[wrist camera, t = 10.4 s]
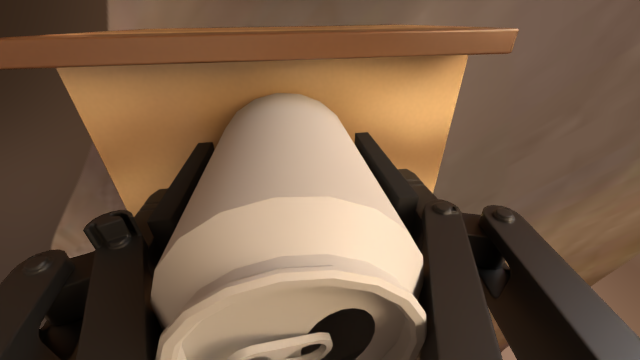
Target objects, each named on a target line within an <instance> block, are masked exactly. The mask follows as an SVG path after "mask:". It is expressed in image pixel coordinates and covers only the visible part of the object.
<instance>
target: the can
mask: <svg viewBox="0 0 640 360" xmlns="http://www.w3.org/2000/svg"><path fill="white" fill-rule="evenodd" d="M423 282H424V270H423V255H422V254H421V252H420V250H419V249H418V247H417V245H416V244H415V242H414V240H413V239H412V237H411V235H410V234H409V232H408V230H407V229H406V227H405V225H404V224H403V222H402V220H401V219H400V217H399V216H398V214H397V212H396V211H395V209H394V207H393V206H392V204H391V203H390V201H389V199H388V198H387V196H386V195H385V193H384V191H383V190H382V188H381V186H380V185H379V183H378V182H377V180H376V178H375V177H374V175H373V173H372V172H371V170H370V169H369V167H368V165H367V164H366V162H365V160H364V159H363V157H362V156H361V154H360V152H359V151H358V149H357V148H356V146H355V144H354V143H353V141H352V139H351V138H350V136H349V135H348V133H347V131H346V130H345V128H344V126H343V125H342V123H341V122H340V120H339V118H338V117H337V115H336V114H335V113H333V112H332V111H331V110H330V109H329V108H327V107H326V106H325V105H324V104H322V103H321V102H320V101H317V100H314V99H312V98H309V97H307V96H304V95H301V94H291V93H275V94H271V95H268V96H264V97H261V98H257V99H254V100H253V101H252V102H250V103H249V104H247V105H246V106H244V107H243V108H242V109H240V110H239V111H237V112H236V114H235V115H234V117H233V118H232V120H231V121H230V123H229V124H228V125H227V127H226V128H225V130H224V132H223V134H222V136H221V138H220V140H219V142H218V144H217V146H216V148H215V150H214V152H213V154H212V156H211V158H210V160H209V162H208V164H207V166H206V168H205V170H204V172H203V174H202V176H201V178H200V180H199V182H198V184H197V186H196V188H195V190H194V192H193V194H192V196H191V198H190V200H189V202H188V204H187V206H186V208H185V210H184V212H183V214H182V216H181V218H180V220H179V222H178V224H177V226H176V228H175V230H174V232H173V234H172V236H171V238H170V240H169V242H168V244H167V246H166V248H165V250H164V253H163V255H162V257H161V259H160V261H159V263H158V265H157V267H156V269H155V271H154V277H153V284H152V291H151V297H150V303H151V306H152V308H153V311H154V313H155V315H156V318H157V320H158V322H159V324H160V326H161V329H162V331H163V332H162V334H161V336H160V339H159V344H158V349H157V354H156V359H155V360H415V359H416V357H417V355H418V353H419V352H420V350H421V348H422V346H423V344H424V342H425V340H426V335H427V320H426V313H425V311H424V309H423V308H422V307H421V305H420V304H419V303H418V301H417V300H418V297H419V295H420V292H421V289H422V287H423Z"/></svg>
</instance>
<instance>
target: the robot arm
mask: <svg viewBox="0 0 640 360" xmlns="http://www.w3.org/2000/svg"><path fill="white" fill-rule="evenodd" d="M355 146H356V148H357V149H358V151H359V152H360V154H361V156H362V157H363V159H364V160H365V162H366V164H367V165H368V167H369V169H370V170H371V172H372V173H373V175H374V177H375V178H376V180H377V182H378V183H379V185H380V186H381V188H382V190H383V191H384V193H385V195H386V196H387V198H388V199H389V201H390V203H391V204H392V206H393V207H394V209H395V211H396V212H397V214H398V216H399V217H400V219H401V220H402V222H403V224H404V225H405V227H406V229H407V230H408V232H409V234H410V235H411V237H412V239H413V240H414V242H415V244H416V245H417V247H418V249H419V250H420V252H421V254H422V255H423V270H424V282H423V287H422V289H421V292H420V295H419V297H418V300H417V301H418V303H419V304H420V305H421V307H422V308H423V309H424V311H425V313H426V320H427V335H426V340H425V342H424V344H423V346H422V348H421V350H420V352H419V353H418V355H417V357H416V359H415V360H503V359H502V356H501V352H500V348H499V345H498V341H497V338H496V334H495V331H494V327H493V324H492V320H491V316H490V313H489V309H490V311H491V313H492V315H493V317H494V318H495V320H496V322H497V324H498V326H499V328H500V329H501V331H502V333H503V335H504V337H505V339H506V340H507V342H508V344H509V346H510V348H511V349H512V351H513V353H514V355H515V357H516V358H517V360H640V338H639V337H638V336H637V335H636V334H635V333H634V332H633V331H632V330H631V329H630V328H629V326H628V325H627V324H626V323H625V322H624V321H623V320H622V319H621V318H620V317H619V316H618V315H617V314H616V313H615V312H614V311H613V310H612V309H611V308H610V307H609V306H608V305H607V304H606V303H605V302H604V301H603V300H602V299H601V298H600V297H599V296H598V295H597V294H596V292H595V291H594V290H593V289H591V287H590V286H589V285H588V284H587V283H586V282H585V281H584V280H583V279H582V278H581V277H580V276H579V275H578V274H577V273H576V272H575V271H574V270H573V269H572V268H571V267H570V266H569V265H568V264H567V263H566V262H565V260H564V259H563V258H562V257H561V256H560V255H559V254H558V253H557V252H556V251H555V250H554V249H553V248H552V247H551V246H550V245H549V244H548V243H547V242H546V241H545V240H544V239H543V238H542V237H541V236H540V235H539V234H538V233H537V232H536V231H535V230H534V229H533V228H532V227H531V225H530V224H529V223H528V222H527V221H526V220H525V219H524V218H523V217H522V216H521V215H519V214H518V213H517V212H515V211H513V210H511V209H509V208H507V207H503V206H496V205H491V206H487V207H485V208H484V209H483V212H482V214H481V215H476V214H467V213H461V211H460V209H459V208H458V207H457V206H455V205H454V204H452V203H450V202H448V201H444V200H438V199H437V198H436V197H435V196H434V194H433V193H432V192H431V191H430V190H429V189H428V188H427V187H426V186H425V185H424V183H423V182H422V181H421V180H420V179H419V178H418V177H417V175H416V174H415V173H413V172H411V171H410V170H408V169H397V168H396V167H395V166H394V164H393V163H392V162H391V160H390V159H389V158H388V157H387V155H386V154H385V153H384V152H383V150H382V149H381V148H380V147H379V145H378V144H377V143H376V142H375V140H374V139H373V138H372V137H371V135H370V134H369V133H368V132H363V133H355ZM214 150H215V149H214V145H213V142H204V143H198V144H197V145H196V147H195V149H194V150H193V152H192V153H191V155H190V156H189V158H188V159H187V161H186V162H185V164H184V165H183V167H182V168H181V170H180V171H179V173H178V174H177V176H176V177H175V179H174V180H173V182H172V184H171V185H170V187H169V188H166V189H159V190H157V191H156V192H154V193H153V194H152V195H150V196H149V198H148V199H147V200H146V202H145V203H144V205H143V206H142V207H141V208H140V211H138V212H137V214H136V215H135V217H133V215H132V213H131V212H129V211H127V210H117V211H112V212H109V213H106V214H103V215H101V216H99V217H97V218H95V219H93V220H92V221H91V222H89V223H88V224H87V225H86V226H85V228H84V230H83V231H84V232H85V234H86V236H87V237H88V239H89V240H90V242H91V243H92V245H93V246H94V248H95V251H93V252H90V253H87V254H84V255H80V256H77V257H73V258H69V257H68V255H67V254H66V253H65V251H62V250H49V251H46V252H42V253H39V254H36V255H35V256H32V257H30V258H28V259H27V260H25V261H24V262H22V263H21V264H19V265H18V266H17V267H16V268H14V269H13V270H12V271H11V272H10V274H9V275H8V276H7V277H6V278H5V279H4V281H3V282H2V283H1V284H0V360H155V359H156V354H157V349H158V344H159V339H160V336H161V334H162V332H163V331H162V329H161V326H160V324H159V322H158V320H157V318H156V315H155V313H154V311H153V308H152V306H151V303H150V297H151V291H152V284H153V277H154V271H155V269H156V267H157V265H158V263H159V261H160V259H161V257H162V255H163V253H164V250H165V248H166V246H167V244H168V242H169V240H170V238H171V236H172V234H173V232H174V230H175V228H176V226H177V224H178V222H179V220H180V218H181V216H182V214H183V212H184V210H185V208H186V206H187V204H188V202H189V200H190V198H191V196H192V194H193V192H194V190H195V188H196V186H197V184H198V182H199V180H200V178H201V176H202V174H203V172H204V170H205V168H206V166H207V164H208V162H209V160H210V158H211V156H212V154H213V152H214ZM505 260H506V262H507V263H508V265H509V267H508V266H507V264H506V263H505ZM488 308H489V309H488ZM44 318H45V319H46V320H47V321H46V323H45V324H44V326H43V327H42V328H41V329H39V327H40V325H41V322H42V320H43V319H44Z"/></svg>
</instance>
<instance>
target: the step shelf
mask: <svg viewBox="0 0 640 360" xmlns="http://www.w3.org/2000/svg"><path fill="white" fill-rule="evenodd" d="M517 33H518V29H517V28H492V27H457V26H426V25H346V26H289V27H232V28H175V29H138V30H121V31H105V32H90V33H89V32H88V33H72V34H55V35H41V36H40V35H38V36H22V37H5V38H0V70H2V69H33V68H34V69H35V68H56V69H57V71H58V73H59V75H60V77H61V79H62V81H63V82H64V84H65V87H66V89H67V91H68V93H69V95H70V97H71V99H72V101H73V103H74V105H75V107H76V109H77V111H78V113H79V115H80V117H81V119H82V121H83V123H84V125H85V127H86V129H87V131H88V133H89V135H90V137H91V139H92V141H93V143H94V145H95V147H96V149H97V151H98V153H99V155H100V157H101V159H102V161H103V163H104V165H105V167H106V169H107V171H108V173H109V175H110V177H111V179H112V181H113V183H114V185H115V187H116V189H117V191H118V193H119V195H120V197H121V199H122V201H123V203H124V205H125V207H126V209H127V211H129V212H131V213H132V215H133V217H135V215H136V214H137V212H138V211H140V208H141V207H142V206H143V205H144V203H145V202H146V200H147V199H148V198H149V196H150V195H152V194H153V193H154V192H156V191H157V190H159V189H166V188H169V187H170V185H171V184H172V182H173V180H174V179H175V177H176V176H177V174H178V173H179V171H180V170H181V168H182V167H183V165H184V164H185V162H186V161H187V159H188V158H189V156H190V155H191V153H192V152H193V150H194V149H195V147H196V145H197V144H198V143H204V142H213V145H214V149H215V148H216V146H217V144H218V142H219V140H220V138H221V136H222V134H223V132H224V130H225V128H226V127H227V125H228V124H229V123H230V121H231V120H232V118H233V117H234V115H235V114H236V112H237V111H239V110H240V109H242V108H243V107H244V106H246V105H247V104H249V103H250V102H252V101H253V100H254V99H257V98H261V97H264V96H268V95H271V94H275V93H291V94H301V95H304V96H307V97H309V98H312V99H314V100H317V101H320V102H321V103H322V104H324V105H325V106H326V107H327V108H329V109H330V110H331V111H332V112H333V113H335V114H336V115H337V117H338V118H339V120H340V122H341V123H342V125H343V126H344V128H345V130H346V131H347V133H348V135H349V136H350V138H351V139H352V141H353V143H354V144H355V133H363V132H368V133H369V134H370V135H371V137H372V138H373V139H374V140H375V142H376V143H377V144H378V145H379V147H380V148H381V149H382V150H383V152H384V153H385V154H386V155H387V157H388V158H389V159H390V160H391V162H392V163H393V164H394V166H395V167H396V168H397V169H408V170H410V171H411V172H413V173H415V174H416V175H417V177H418V178H419V179H420V180H421V181H422V182H423V183H424V185H425V186H426V187H427V188H428V189H429V190H430V191H431V192H432V193H433V191H434V187H435V183H436V179H437V175H438V172H439V168H440V164H441V160H442V156H443V152H444V148H445V144H446V140H447V136H448V132H449V129H450V125H451V121H452V117H453V113H454V109H455V105H456V101H457V97H458V93H459V90H460V86H461V82H462V78H463V74H464V70H465V66H466V62H467V58H468V55H478V54H508V53H511V51H512V48H513V45H514V42H515V39H516V36H517Z"/></svg>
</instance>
